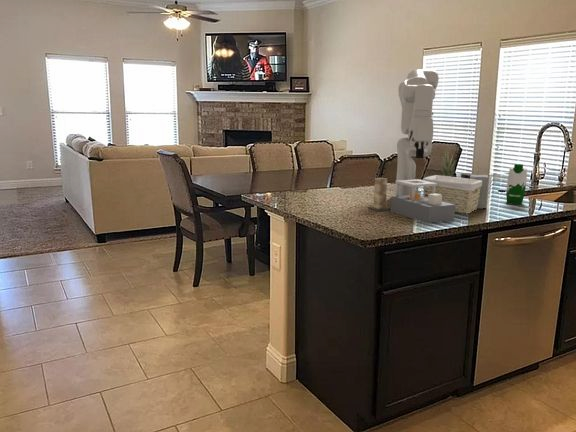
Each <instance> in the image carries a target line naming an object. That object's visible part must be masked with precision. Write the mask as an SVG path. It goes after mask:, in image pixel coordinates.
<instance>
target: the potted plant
mask: <svg viewBox="0 0 576 432" xmlns="http://www.w3.org/2000/svg"><path fill="white" fill-rule="evenodd" d="M444 156H445V158H444ZM444 156H443V155H442V159H443V164H444V166H442V165H441V164H439V167H440V168H441V172H442V175H441V176H450V177H453V175H454V174H455V173H456V170H455V164H456V162H457V160H456V159H455V160H454V161H453V159H454V155H452V156H451V158H450V156H449V153H446V151H444ZM452 162H453V163H452Z"/></svg>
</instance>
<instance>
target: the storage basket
mask: <svg viewBox="0 0 576 432" xmlns="http://www.w3.org/2000/svg"><path fill="white" fill-rule="evenodd" d="M422 180H424V181H429V182H433V183H437V186H436V187H435V193H436V194H440V195H442V201H443V202H447V203H451V204H455V213H458V212H459V213H458V214H465V213H466V215H468V214H467V213H469V214H470V213H473V212H475V211H476V210H477V209H478V208H477V205H478V199H479V194H480V188H481V186H482V180H475V179H467V178H461V177H456V176H452V177H450V176H443V175H437V174H435V175H429V176H426V177H423V179H422ZM432 189H433V186H423V187H422V190H423V191H422V192H423V194H422V196H423V197H427V198H428V194H432ZM474 210H475V211H474ZM472 211H473V212H472Z"/></svg>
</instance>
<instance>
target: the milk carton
mask: <svg viewBox="0 0 576 432" xmlns="http://www.w3.org/2000/svg"><path fill="white" fill-rule="evenodd" d="M507 175H508V176H507V181H506V182H507V184H506V192H505V193H506V196H505V197H506V204H508V203H512V204H511V205H519V204H521V205H522V204H523V201H524V198H525V194H526V187H527V176H528V170H527V168H526V167H524V164H523V163H521V164H520V163H514V166H513V167H512V166H510V167H509V171H508V174H507Z"/></svg>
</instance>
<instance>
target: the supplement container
mask: <svg viewBox="0 0 576 432" xmlns="http://www.w3.org/2000/svg"><path fill="white" fill-rule="evenodd" d="M470 175H480V174H478V173H472V172H462V173H461V174H460V178H467V179H470Z"/></svg>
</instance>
